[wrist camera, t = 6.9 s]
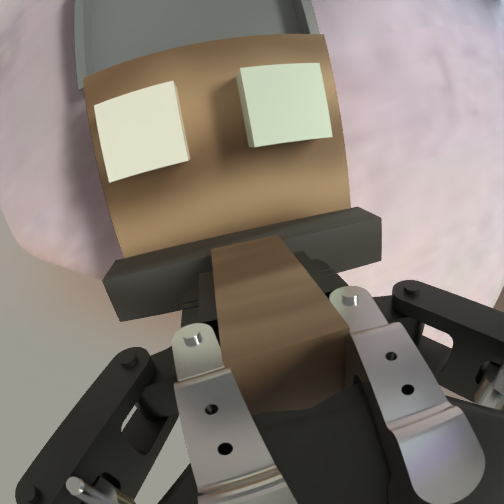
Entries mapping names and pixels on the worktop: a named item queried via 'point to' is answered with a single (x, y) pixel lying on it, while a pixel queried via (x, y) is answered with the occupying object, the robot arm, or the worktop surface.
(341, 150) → the board
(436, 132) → the worktop surface
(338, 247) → the scraper
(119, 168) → the tile
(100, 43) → the bin
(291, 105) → the tile
